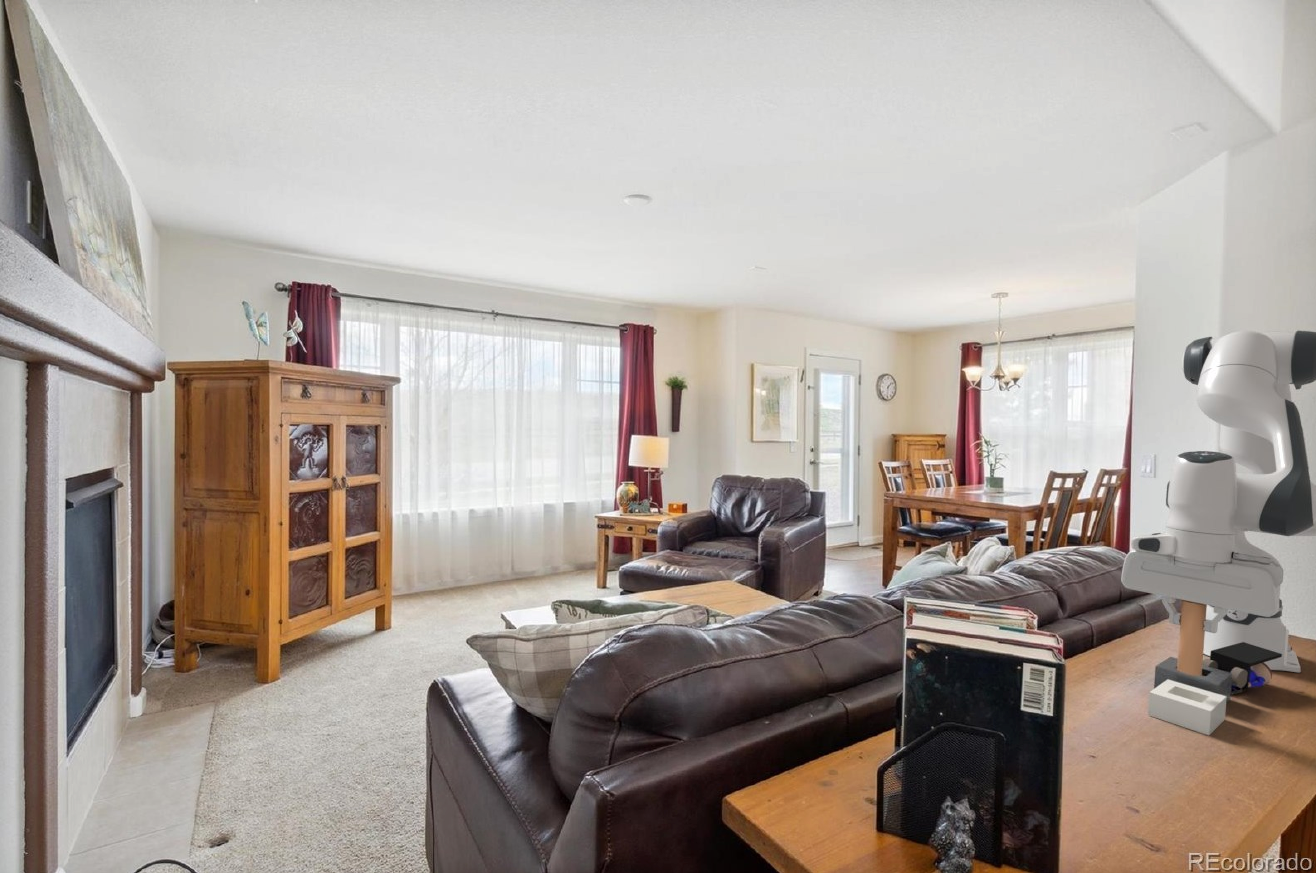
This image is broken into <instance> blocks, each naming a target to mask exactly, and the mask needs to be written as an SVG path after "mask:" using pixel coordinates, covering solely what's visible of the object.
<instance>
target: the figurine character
mask: <svg viewBox="0 0 1316 873" xmlns="http://www.w3.org/2000/svg"><path fill="white" fill-rule="evenodd" d="M1280 657H1282V654H1280V653H1277V652H1274V651H1271V650H1267V649H1264V648H1261V647H1258V646H1255V645H1251V644H1248V643H1245V642H1241V643H1238V644H1234V645H1230V646H1227V647H1223V648H1219V649H1216V650H1212V651H1211V654H1210V656H1209V658H1205V659H1204V658H1203V664H1202V665H1203V666H1207V667H1211V668H1215V669H1218V670H1222V671H1226V672H1230V673H1232V683H1231V690H1233V691H1231V695H1236V694H1237V695H1238V693H1239V694H1240V693H1242V692H1243V689H1245V690H1248V689H1249V688H1253V687H1254V688H1255V687H1263V686H1264V685H1268V684H1269V683H1270V682H1271V681H1272V679H1273V672H1272V670H1271V669H1270V668H1269V667H1268V666H1267V665H1266V664H1265V663H1264V662H1267V661H1270V660H1273V659H1277V658H1280Z"/></svg>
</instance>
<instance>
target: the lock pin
mask: <svg viewBox="0 0 1316 873" xmlns="http://www.w3.org/2000/svg"><path fill="white" fill-rule="evenodd" d="M1206 609H1207V605H1206V604H1201V603H1196V602H1191V601H1186V600H1181V610H1180V613H1181V621H1180V625H1179V638H1178V652H1177V659H1178V662H1177V670H1178V671H1180V672H1183V673H1186V674H1190V675H1195V676H1201V675H1202V664H1203V660H1204V653H1203V650H1204V637H1205V631H1204V630H1203V627H1205V626H1204V621H1205V620H1206Z"/></svg>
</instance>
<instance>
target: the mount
mask: <svg viewBox="0 0 1316 873" xmlns="http://www.w3.org/2000/svg"><path fill="white" fill-rule="evenodd" d="M1177 662H1178V657H1173V656H1169V657H1168V658H1166V659H1165V660H1163V661H1162V662H1160V663H1158V664H1156V665H1155V669H1154V681H1153V683H1154V684H1153V689H1155V688H1156V687H1158V686H1159V685H1160V684H1162V683H1163V682H1165V681H1166V680H1172V681H1175V682H1179V683H1182V684H1185V685H1189V686H1192V687H1196V688H1199V689H1203V690H1206V691H1209V692H1213V693H1216V694H1220V695H1223V696H1227V698H1226V705H1227V704H1228V703H1229V702H1230V701H1231V697H1232V696H1231V695H1232V694H1231V692H1232V689H1231V683H1232V673H1230V672H1226V671H1222V670H1218V669H1215V668H1211V667H1207V666H1203V665H1202V675H1201V676H1195V675H1190V674H1186V673H1183V672H1180V671H1178V670H1177Z"/></svg>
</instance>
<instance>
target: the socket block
mask: <svg viewBox="0 0 1316 873" xmlns="http://www.w3.org/2000/svg"><path fill="white" fill-rule="evenodd" d="M1148 692H1149V694H1148V696H1149V697H1148V706H1147V707H1148V708H1147V715H1148V716H1149V717H1152V718H1156V719H1159V720H1161V721H1164V722H1168V723H1171V724H1174V725H1175V726H1176V725H1177V726H1179V727H1182V728H1185V729H1188V730H1192V731H1194V732H1197V733H1200V734H1203V735H1205V736H1210V735H1211V734H1212V733H1213V732H1215V730H1216V729H1217V728H1218V727H1219V726H1220V725H1221V724H1222V723H1223V722H1224V721H1225V720H1226V712H1227V711H1226V709H1227V704H1226V698H1227V696H1223V695H1220V694H1216V693H1213V692H1209V691H1206V690H1203V689H1199V688H1196V687H1192V686H1189V685H1185V684H1182V683H1179V682H1175V681H1172V680H1166V681H1165V682H1163V683H1162V684H1160V685H1159V686H1158V687H1156V688H1155V689H1154V688H1153V689H1152V690H1150V691H1148Z"/></svg>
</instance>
